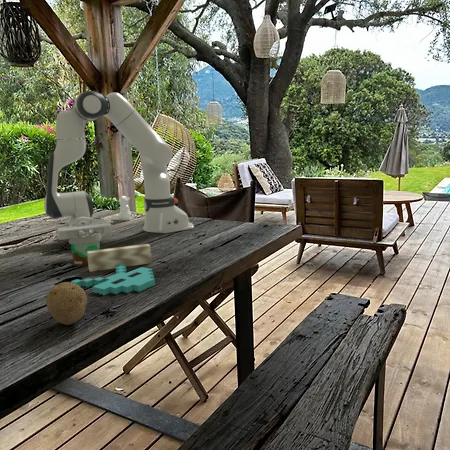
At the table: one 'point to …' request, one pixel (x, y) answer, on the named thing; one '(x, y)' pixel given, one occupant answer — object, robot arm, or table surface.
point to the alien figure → (120, 281)
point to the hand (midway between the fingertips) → (87, 235)
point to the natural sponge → (66, 302)
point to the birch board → (119, 257)
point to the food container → (84, 247)
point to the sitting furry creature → (123, 210)
